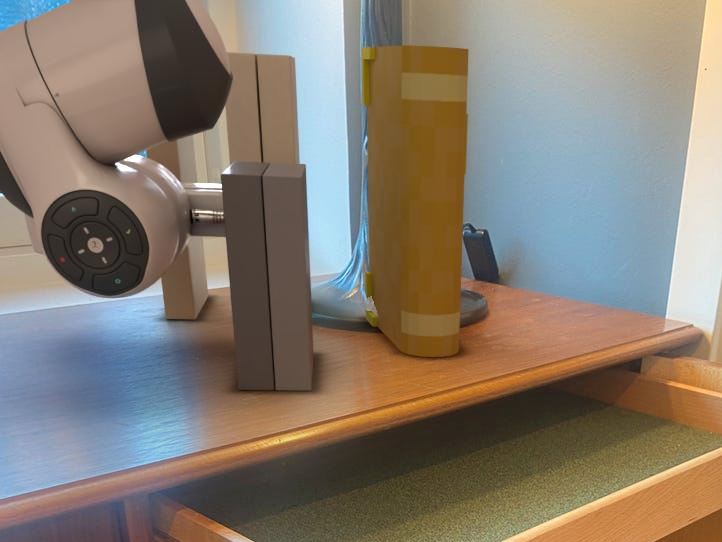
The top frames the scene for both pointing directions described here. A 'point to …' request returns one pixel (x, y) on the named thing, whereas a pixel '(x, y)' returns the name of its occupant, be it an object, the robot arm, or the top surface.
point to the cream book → (188, 271)
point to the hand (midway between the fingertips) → (160, 197)
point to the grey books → (269, 274)
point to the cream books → (262, 109)
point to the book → (416, 193)
